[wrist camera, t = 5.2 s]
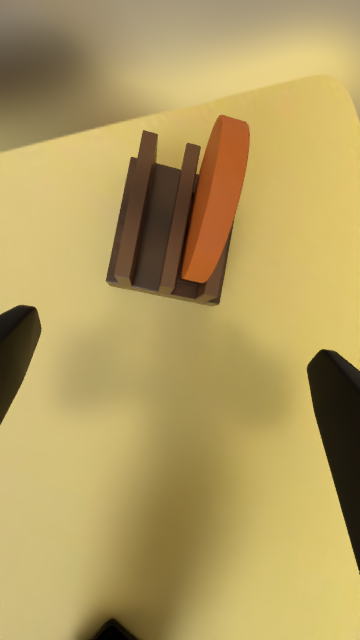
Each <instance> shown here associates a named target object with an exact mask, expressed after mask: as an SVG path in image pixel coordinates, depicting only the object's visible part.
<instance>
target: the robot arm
mask: <svg viewBox="0 0 360 640" xmlns="http://www.w3.org/2000/svg"><path fill="white" fill-rule="evenodd" d="M40 334H41V324H40V319H39V315H38V311H37V309H36V308H35V307H33V306H27V305H18V306H16V307H14V308H12V309H10V310H8V311H6V312H4V313H3V314H1V315H0V425H1V423H2V421H3V419H4V417H5V415H6V413H7V411H8V409H9V407H10V405H11V403H12V401H13V399H14V398H15V396H16V394H17V392H18V390H19V388H20V386H21V384H22V382H23V380H24V377H25V375H26V372H27V369H28V367H29V364H30V361H31V359H32V356H33V353H34V351H35V348H36V345H37V343H38V340H39V337H40ZM307 374H308V380H309V385H310V391H311V397H312V403H313V408H314V413H315V417H316V421H317V424H318V428H319V431H320V435H321V438H322V442H323V445H324V449H325V453H326V456H327V460H328V463H329V467H330V470H331V474H332V477H333V481H334V484H335V488H336V491H337V495H338V499H339V502H340V506H341V509H342V513H343V516H344V520H345V523H346V527H347V530H348V534H349V538H350V541H351V545H352V548H353V552H354V555H355V559H356V562H357V566H358V569H359V571H360V371H359V370H358V369H357V368H355V367H354V366H353V365H352V364H350V363H349V362H348V361H347V360H345V359H344V358H343V357H342V356H341V355H339V354H338V353H337V352H335V351H333V350H326V349H322V350H320V351H319V352H318V353H317V354H316V355H315V357H314V358H313V359H312V360H311V361H310V362H309V364H308V366H307ZM359 574H360V572H359ZM91 640H137V639H136V638H135V637H134V636H132V635H131V634H130V633H129V632H128V631H127V630H126V629H125V628H123V627H122V626H121V625H120V624H119V623H118V622H117V621H115V620H109V621H107V622H106V623H105V625H104V626H103V627H102V628H101V629H100V630H99V631H98V633H97V634H96V635H95V636H94V637H93V638H92V639H91Z"/></svg>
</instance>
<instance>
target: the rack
mask: <svg viewBox="0 0 360 640" xmlns="http://www.w3.org/2000/svg"><path fill="white" fill-rule="evenodd" d="M157 139H158V134H155V133H152V132H148V131H145V130H143V133H142V138H141V143H140V148H139V153H138V158H134V157H131V159H130V164H129V169H128V174H127V179H126V184H125V189H124V194H123V199H122V204H121V209H120V214H119V219H118V223H117V228H116V233H115V238H114V243H113V248H112V253H111V258H110V263H109V268H108V273H107V278H106V282H107V283H108V284H109V285H110V286H114V287H119V288H124V289H129V290H134V291H139V292H144V293H149V294H154V295H159V296H164V297H169V298H174V299H179V300H184V301H189V302H194V303H199V304H204V305H209V306H215V305H218V304H219V303H220V297H221V291H222V286H223V280H224V274H225V269H226V263H227V257H228V251H229V246H230V240H231V234H232V229H233V223H234V220H233V223H232V226H231V229H230V232H229V235H228V238H227V241H226V244H225V246H224V249H223V252H222V254H221V256H220V259H219V261H218V263H217V265H216V267H215V269H214V271H213V273H212V274H211V276H210V277H209V279H208V280H207V281H206V282H204V283H199V282H195V281H190V280H185V279H182V278H181V261H182V253H183V247H184V241H185V235H186V230H187V224H188V219H189V215H190V210H191V205H192V201H193V197H194V192H195V188H196V184H197V180H198V176H199V175H198V174H196V170H197V165H198V160H199V154H200V149H201V147H200V146H197V145H194V144H190V143H187V144H186V149H185V153H184V158H183V163H182V167H181V170H180V169H176V168H172V167H168V166H165V165H161V164H157V163H156V157H157ZM234 217H235V216H234Z"/></svg>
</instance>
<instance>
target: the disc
mask: <svg viewBox="0 0 360 640" xmlns="http://www.w3.org/2000/svg"><path fill="white" fill-rule="evenodd" d="M249 138H250V133H249V126H248V124H247V123H246V122H244V121H241V120H238V119H234V118H231V117H227V116H224V115H220V116H219V117H218V118H217V120H216V122H215V125H214V127H213V130H212V132H211V135H210V138H209V141H208V144H207V147H206V151H205V154H204V158H203V161H202V165H201V169H200V172H199V176H198V180H197V184H196V188H195V192H194V197H193V201H192V205H191V210H190V215H189V219H188V224H187V230H186V235H185V241H184V247H183V253H182V261H181V278H182V279H185V280H190V281H195V282H199V283H204V282H206V281H207V280H208V279H209V277H210V276H211V274H212V273H213V271H214V269H215V267H216V265H217V263H218V261H219V259H220V256H221V254H222V252H223V249H224V246H225V244H226V241H227V238H228V235H229V232H230V229H231V226H232V223H233V220H234V216H235V213H236V210H237V206H238V202H239V198H240V194H241V190H242V186H243V181H244V176H245V171H246V166H247V159H248V152H249Z"/></svg>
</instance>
